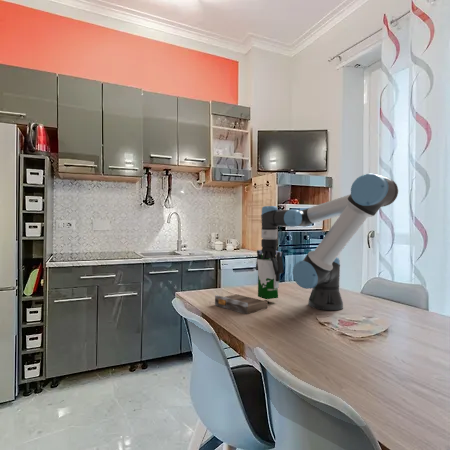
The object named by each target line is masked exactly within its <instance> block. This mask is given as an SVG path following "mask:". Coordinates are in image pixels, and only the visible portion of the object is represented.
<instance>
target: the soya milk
mask: <svg viewBox="0 0 450 450" xmlns="http://www.w3.org/2000/svg"><path fill="white" fill-rule="evenodd" d="M262 256H263V254H262V255H261V259H257V258H256V262H257V263H258V270H257V276H258V277H257V297H258V298H261V299H263V300H271V299H279V288H274V274H275V271H274V268H273V262H272V261H271V260H270V259H269V258H265V260H263V259H262Z"/></svg>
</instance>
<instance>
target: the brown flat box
mask: <svg viewBox="0 0 450 450" xmlns="http://www.w3.org/2000/svg"><path fill="white" fill-rule="evenodd" d="M214 306H217V307H220V308H222V309H227V310H230V311H233V312H237V313H240V314H243V315H249V314H252V313H256V312H258V311H264V310H265V309H268V301H267V300H264V299H259V298H254V297H250V296H246V295H241V294H230V295H226V296H221V295H218V294H216V295H215V296H214Z"/></svg>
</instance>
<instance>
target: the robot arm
mask: <svg viewBox="0 0 450 450" xmlns="http://www.w3.org/2000/svg"><path fill="white" fill-rule="evenodd" d="M398 194H399V188H398V184H397V183H396V181H394V180H393V179H392V178H390V177H388V176H383V175H380V174H378V173H365V174H362V175H360V176H358V177H357V178H356V179H355V180H354V181H353V182H352V185H351V187H350V194H347V195H344V196H340V197H338V198H335V199H332V200H328V201H326V202H322V203H320V204H318V205H314V206H311V207H308V208H305V209H302V210H298V209H281V210H279V209H278V207H277V206H274V205H266V206H262V208H261V215H260V217H261V240H260V241H261V244H260V245H261V249H257V250H256V260H257V259H261V255H263V256H262V259H263V260H265V258H269V259H270V260H271V261H272V262H273V268H274V271H275V274H274V288H278V289H279V287H280V285H279V284H280V281H281V279H280V277H281V274H283V273H284V264H283V251H278V249H277V247H278V227H289V228H294V227H303V228H305V227H310V226H311V225H312V224H315V223H319V222H322V221H326V220H329V219H332V218H337V217H338V218H337V219H336V221H335V222H334V223H333V224H332V226H331V227H330V229H329V231H327V233H326V234H325V236H324V237H323V239H321V241H320V243H318V245H317V246H316V248H315V249H314V250H311V251H309V252H308V253H307V254H306V255H305V257H304V258H303V260H299V261H298V262H296V263H295V264H294V265H293V267H292V268H293V269H292V276H293V279H294V282H295V283H296V284H297V286H299V287H300V288H302V289H309V290H310V289H311V292H310V295H309V297H308V306H309V307H311V308H313V309H317V310H321V311H338V310H343V308H344V302H343V299H342V295H341V292H340V278H341V277H340V274H341V273H340V272H341V270H340V268H341V264H340V263H341V262H340V258H339V257H338V256H339V255H340V253H341V252H342V251H343V249H344V248H345V247H346V246H347V245H348V243H349V242H350V241H351V239H352V238H353V237H354V236H355V234H356V233H357V231H358V230H359V229H360V228H361V226H362V225H363V224H364V222H366V220H367V219H368V218H370V217H375V215H376V214H377V213H378V211H379V210H380V209H381V208H384V207H388V206H389V205H391V204H393V203H394V202H395V201H396V199H397V198H398ZM255 264H256V265H255V270H256V271H258V263H257V261H256V263H255Z"/></svg>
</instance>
